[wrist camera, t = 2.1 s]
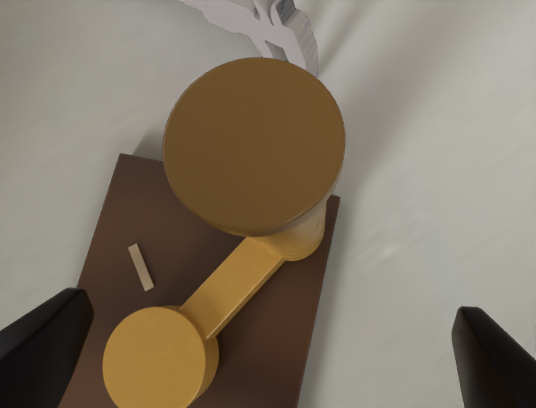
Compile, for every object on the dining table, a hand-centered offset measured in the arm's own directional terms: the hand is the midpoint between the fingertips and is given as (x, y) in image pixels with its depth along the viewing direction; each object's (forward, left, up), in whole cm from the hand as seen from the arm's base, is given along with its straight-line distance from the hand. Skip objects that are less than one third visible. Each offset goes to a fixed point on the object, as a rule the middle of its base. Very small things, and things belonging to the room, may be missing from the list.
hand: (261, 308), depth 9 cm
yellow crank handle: (0, +3, -9) cm, 9 cm away
